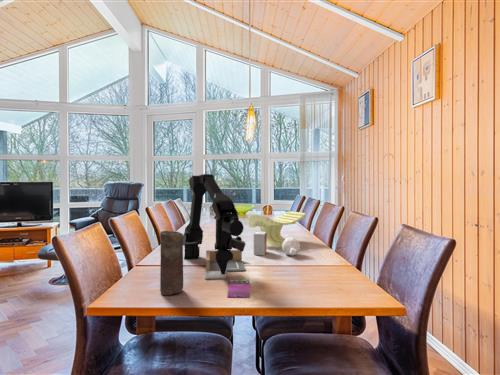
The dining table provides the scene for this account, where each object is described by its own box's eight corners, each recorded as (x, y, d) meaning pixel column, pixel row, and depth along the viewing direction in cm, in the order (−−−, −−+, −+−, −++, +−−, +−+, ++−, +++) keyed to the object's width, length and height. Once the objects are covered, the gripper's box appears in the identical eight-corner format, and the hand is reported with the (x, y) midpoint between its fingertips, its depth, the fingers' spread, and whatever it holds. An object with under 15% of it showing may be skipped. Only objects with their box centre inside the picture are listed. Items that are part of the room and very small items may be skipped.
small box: (264, 255, 144) (264, 234, 144) (253, 255, 146) (253, 233, 145) (266, 251, 152) (267, 231, 152) (256, 251, 153) (256, 231, 153)
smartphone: (249, 282, 108) (249, 279, 108) (250, 298, 93) (250, 296, 93) (229, 282, 108) (229, 279, 108) (227, 298, 93) (227, 296, 93)
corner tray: (205, 272, 117) (206, 260, 117) (206, 261, 133) (206, 250, 133) (245, 271, 120) (245, 258, 119) (241, 260, 135) (241, 249, 135)
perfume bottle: (278, 248, 151) (281, 257, 139) (284, 232, 150) (288, 240, 138) (294, 253, 152) (298, 263, 140) (300, 237, 150) (305, 245, 139)
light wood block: (204, 279, 110) (204, 260, 109) (205, 275, 114) (205, 257, 114) (226, 278, 111) (226, 259, 111) (225, 274, 115) (225, 256, 115)
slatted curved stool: (286, 238, 187) (287, 210, 186) (305, 243, 174) (305, 213, 174) (248, 244, 169) (248, 213, 169) (266, 249, 156) (266, 216, 156)
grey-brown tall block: (162, 287, 100) (163, 229, 100) (184, 287, 101) (184, 229, 101) (157, 296, 93) (157, 233, 92) (181, 296, 93) (181, 233, 93)
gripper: (247, 236, 104) (247, 279, 105) (241, 227, 123) (241, 264, 123) (215, 236, 103) (215, 281, 103) (214, 228, 121) (214, 265, 122)
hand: (223, 272), depth 113 cm, fingers closed on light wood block, 4 cm apart
